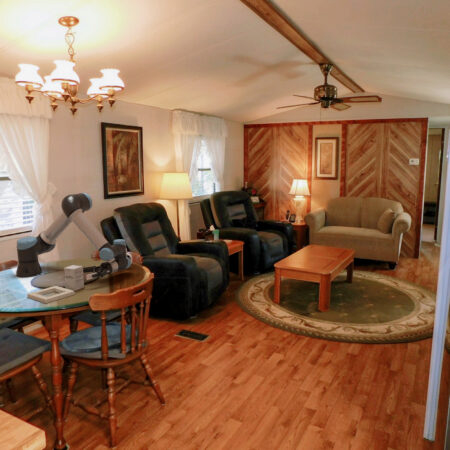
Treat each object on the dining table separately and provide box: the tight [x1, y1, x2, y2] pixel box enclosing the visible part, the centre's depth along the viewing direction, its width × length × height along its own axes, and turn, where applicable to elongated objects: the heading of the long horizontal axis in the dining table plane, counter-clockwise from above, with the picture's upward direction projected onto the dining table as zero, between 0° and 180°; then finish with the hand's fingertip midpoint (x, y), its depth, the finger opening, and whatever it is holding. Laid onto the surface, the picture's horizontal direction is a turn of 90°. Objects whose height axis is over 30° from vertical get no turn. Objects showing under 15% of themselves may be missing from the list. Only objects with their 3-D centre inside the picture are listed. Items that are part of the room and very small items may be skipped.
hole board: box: [26, 285, 76, 304], centre depth 227 cm, size 17×17×2 cm
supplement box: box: [63, 264, 85, 292], centre depth 239 cm, size 7×7×13 cm
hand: (79, 275), depth 241 cm, fingers open, 13 cm apart
